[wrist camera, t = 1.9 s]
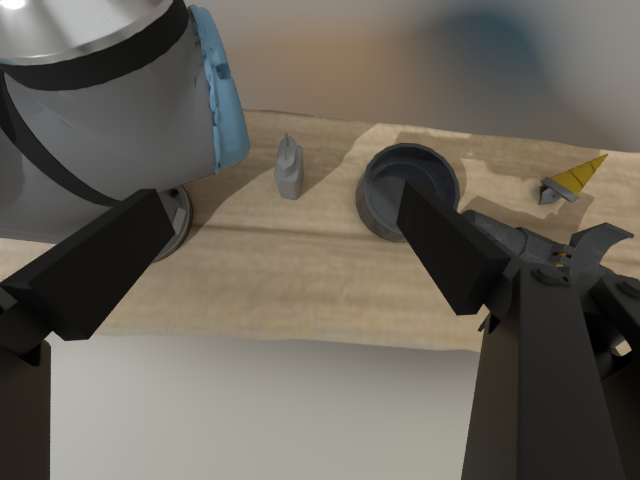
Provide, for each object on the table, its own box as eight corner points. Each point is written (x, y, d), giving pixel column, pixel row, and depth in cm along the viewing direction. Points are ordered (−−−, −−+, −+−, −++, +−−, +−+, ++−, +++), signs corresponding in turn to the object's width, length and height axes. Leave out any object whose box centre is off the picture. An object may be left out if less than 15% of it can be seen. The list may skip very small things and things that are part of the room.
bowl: (344, 226, 37) (350, 218, 31) (368, 150, 39) (378, 130, 33) (426, 254, 37) (447, 251, 31) (446, 176, 39) (468, 161, 33)
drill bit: (519, 191, 40) (583, 138, 34) (532, 201, 42) (595, 153, 36) (544, 209, 36) (622, 153, 30) (558, 219, 38) (632, 169, 33)
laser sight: (457, 204, 38) (510, 180, 28) (580, 258, 38) (676, 252, 28) (439, 257, 37) (488, 250, 27) (567, 313, 36) (664, 328, 27)
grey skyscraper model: (304, 169, 38) (302, 121, 26) (298, 200, 37) (294, 165, 25) (285, 166, 38) (275, 117, 26) (279, 197, 37) (266, 160, 25)
